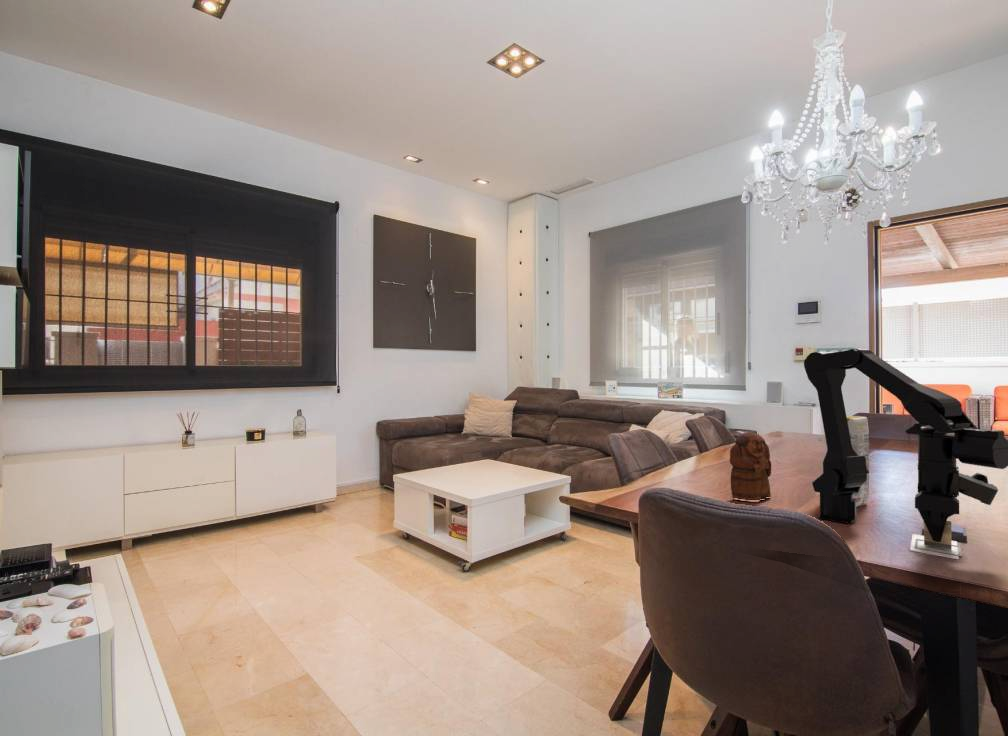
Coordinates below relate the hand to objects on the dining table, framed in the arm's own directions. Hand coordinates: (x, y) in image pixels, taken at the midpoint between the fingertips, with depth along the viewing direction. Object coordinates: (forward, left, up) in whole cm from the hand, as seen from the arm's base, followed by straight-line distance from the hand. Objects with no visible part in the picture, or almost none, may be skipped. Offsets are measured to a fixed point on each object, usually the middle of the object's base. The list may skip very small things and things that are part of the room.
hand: (937, 538), depth 98 cm
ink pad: (+1, +12, -2) cm, 12 cm away
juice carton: (-18, +27, -2) cm, 33 cm away
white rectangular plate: (0, +1, -2) cm, 2 cm away
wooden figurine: (-38, +16, -2) cm, 41 cm away
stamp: (0, 0, -1) cm, 1 cm away
